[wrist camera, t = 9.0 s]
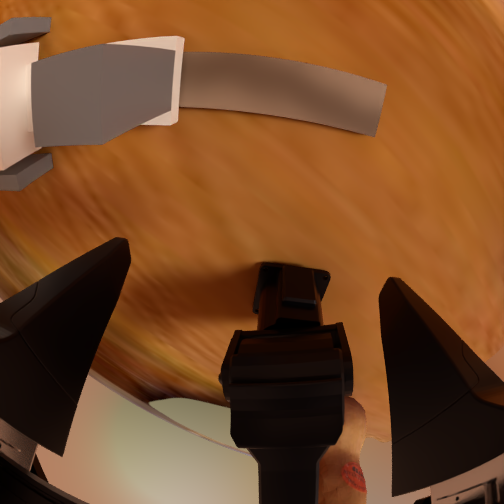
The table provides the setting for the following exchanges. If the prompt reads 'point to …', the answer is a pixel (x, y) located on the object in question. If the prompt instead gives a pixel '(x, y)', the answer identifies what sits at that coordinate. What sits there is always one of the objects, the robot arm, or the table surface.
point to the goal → (32, 164)
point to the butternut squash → (345, 461)
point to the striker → (85, 93)
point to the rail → (281, 90)
